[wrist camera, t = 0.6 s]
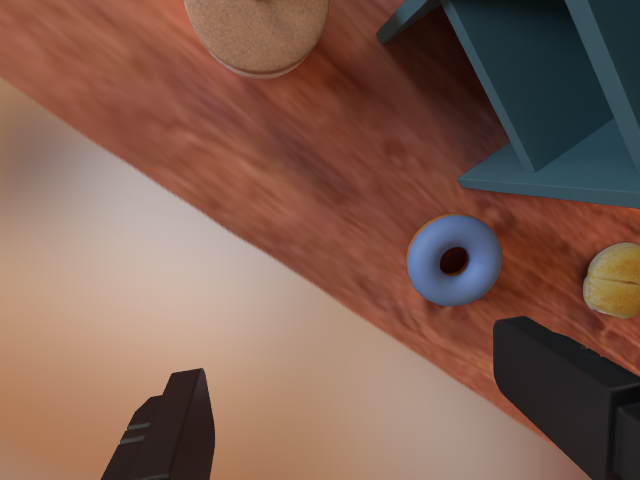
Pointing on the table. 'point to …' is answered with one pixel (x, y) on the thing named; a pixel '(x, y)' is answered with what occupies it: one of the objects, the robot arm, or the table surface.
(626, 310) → the bread roll
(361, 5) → the table surface
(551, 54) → the teal shelf unit
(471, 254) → the doughnut
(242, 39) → the trinket box
